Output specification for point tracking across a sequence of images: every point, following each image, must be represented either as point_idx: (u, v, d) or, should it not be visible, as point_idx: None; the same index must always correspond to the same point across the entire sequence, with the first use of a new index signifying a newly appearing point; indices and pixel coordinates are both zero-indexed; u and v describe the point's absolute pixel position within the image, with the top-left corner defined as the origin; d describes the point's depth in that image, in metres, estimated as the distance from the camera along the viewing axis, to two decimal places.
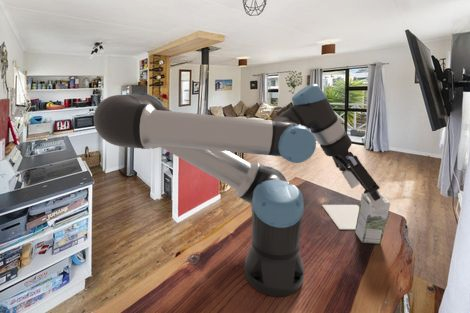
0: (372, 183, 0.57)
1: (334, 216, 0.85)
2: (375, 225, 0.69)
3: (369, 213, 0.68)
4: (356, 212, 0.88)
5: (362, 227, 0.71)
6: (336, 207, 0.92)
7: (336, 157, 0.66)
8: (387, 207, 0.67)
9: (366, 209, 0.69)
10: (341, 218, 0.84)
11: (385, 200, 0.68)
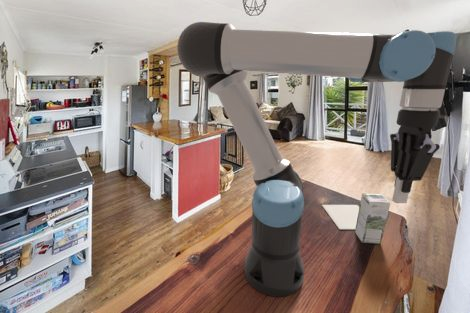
0: (420, 174, 0.54)
1: (334, 216, 0.85)
2: (375, 225, 0.69)
3: (369, 213, 0.68)
4: (356, 212, 0.88)
5: (362, 227, 0.71)
6: (336, 207, 0.92)
7: (403, 133, 0.56)
8: (387, 207, 0.67)
9: (366, 209, 0.69)
10: (341, 218, 0.84)
11: (385, 200, 0.68)
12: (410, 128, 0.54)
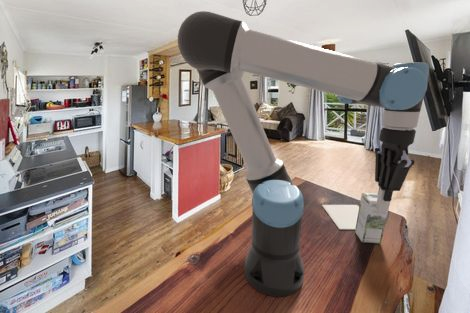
0: (399, 186, 0.60)
1: (334, 216, 0.85)
2: (375, 224, 0.69)
3: (369, 212, 0.68)
4: (356, 212, 0.88)
5: (362, 226, 0.71)
6: (336, 207, 0.92)
7: (385, 148, 0.63)
8: None
9: (366, 208, 0.69)
10: (341, 218, 0.84)
11: None
12: (390, 144, 0.61)
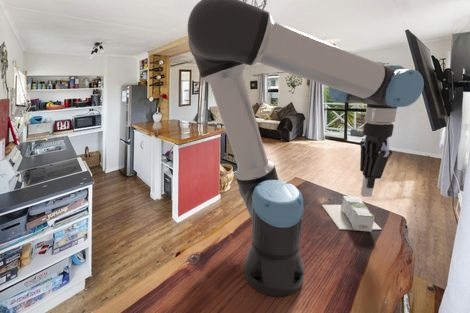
0: (379, 174, 0.68)
1: (334, 216, 0.85)
2: (357, 205, 0.81)
3: (347, 200, 0.85)
4: None
5: (350, 212, 0.80)
6: (336, 207, 0.92)
7: (368, 141, 0.71)
8: (358, 198, 0.87)
9: (345, 201, 0.86)
10: (341, 218, 0.84)
11: None
12: (372, 137, 0.69)
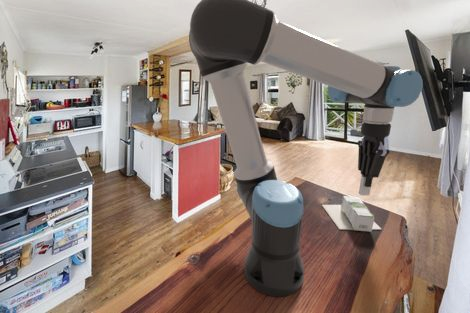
0: (377, 173, 0.69)
1: (334, 216, 0.85)
2: (357, 205, 0.81)
3: (347, 200, 0.85)
4: None
5: (350, 212, 0.80)
6: (336, 207, 0.92)
7: (366, 140, 0.72)
8: (358, 198, 0.87)
9: (345, 201, 0.86)
10: (341, 218, 0.84)
11: None
12: (370, 137, 0.70)
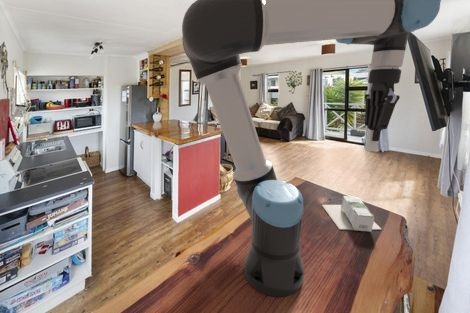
0: (386, 123, 0.65)
1: (334, 216, 0.85)
2: (357, 205, 0.81)
3: (347, 200, 0.85)
4: None
5: (350, 212, 0.80)
6: (336, 207, 0.92)
7: (374, 90, 0.67)
8: (358, 198, 0.87)
9: (345, 201, 0.86)
10: (341, 218, 0.84)
11: None
12: (378, 85, 0.66)
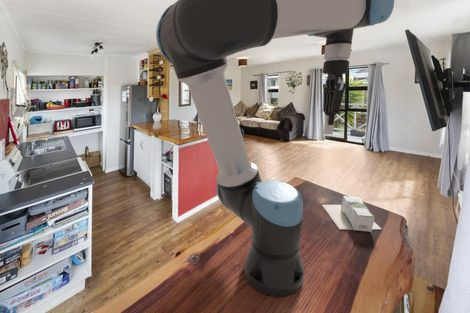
0: (337, 108, 0.74)
1: (334, 216, 0.85)
2: (357, 205, 0.81)
3: (347, 200, 0.85)
4: None
5: (350, 212, 0.80)
6: (336, 207, 0.92)
7: (328, 80, 0.76)
8: (358, 198, 0.87)
9: (345, 201, 0.86)
10: (341, 218, 0.84)
11: None
12: (331, 75, 0.75)
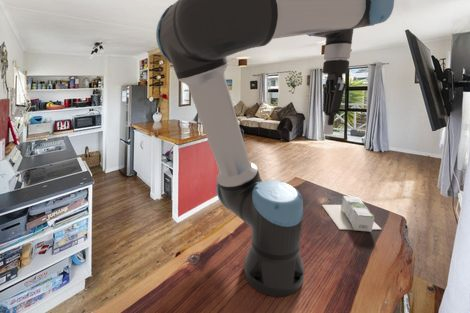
0: (337, 108, 0.74)
1: (334, 216, 0.85)
2: (357, 205, 0.81)
3: (347, 200, 0.85)
4: None
5: (350, 212, 0.80)
6: (336, 207, 0.92)
7: (328, 80, 0.76)
8: (358, 198, 0.87)
9: (345, 201, 0.86)
10: (341, 218, 0.84)
11: None
12: (331, 75, 0.75)
